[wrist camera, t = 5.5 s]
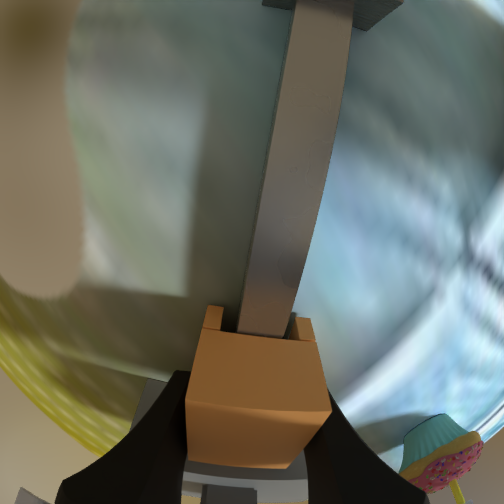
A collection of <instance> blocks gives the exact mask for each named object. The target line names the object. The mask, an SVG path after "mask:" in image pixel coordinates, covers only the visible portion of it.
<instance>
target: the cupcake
mask: <svg viewBox="0 0 504 504" xmlns="http://www.w3.org/2000/svg"><path fill="white" fill-rule="evenodd" d="M483 444H484V442H483V441H481V438H480V435H479V433H478V432H476V431H471V432H468V431H466V430H465V429H463V428H462V427H460V426H459V425H458V424H457V423H456V422H455V421H453V420H452V419H451V418H450V417H449V416H448V415H447V414H441V415H438V416H435V417H433V418H431V419H429V420H427V421H425V422H423V423H421V424H420V425H418V426H417V427H415V428H414V429H413V430H411V431H410V432H409V433H408V434H407V435H406V436H405V438H404V452H403V461H402V465H401V468H400V470H399V473H398V474H399V475H400V476H402V477H403V478H404V479H406V480H407V481H409V482H410V483H412V484H413V485H415V486H416V487H418V488H420V489H421V490H423V491H425V492H426V494H429V493H434V492H436V491H438V490H440V489H443V488H445V487H447V486H449V485H450V487H451V490H452V492H453V495H454V498H455V500H456V503H457V504H464V503H465V500H464V498H463V495H462V493H461V490H460V488H459V485H458V483H457V480H458V479H459V478H460V477H462V476H463V475H464V474H465V473H466V472H467V471H468V470H469V469H471V467H472V466H473V464H475V463H476V461H477V459H478V458H479V456H480V455H481V450H482V448H483V447H482V446H483ZM469 471H470V470H469Z"/></svg>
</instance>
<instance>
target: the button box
mask: <svg viewBox="0 0 504 504" xmlns="http://www.w3.org/2000/svg"><path fill="white" fill-rule="evenodd" d="M166 385H167V383H166V382H162V381H157V380H153V379H149V378H148V379H147V382H146V385H145V388H144V390H143V393H142V396H141V399H140V402H139V404H138V407H137V410H136V413H135V416H134V419H133V422H132V425H131V428H130V431H131V430H132V429H133V428H134V427H135V426H136V424H137V423H138V422H139V421H140V420H141V418H142V417H143V416H144V415H145V414H146V412H147V411H148V410H149V409H150V407H151V406H152V405H153V403H154V402H155V400H156V399H157V398H158V396H159V395H160V393H161V392H162V391H163V389H164V388H165V386H166ZM130 431H129V432H130ZM182 495H187V496H192V497H199V498H201V502H200V504H257V503H285V502H286V503H287V502H303V501H305V500H307V499H308V477H307V467H306V461H305V455H304V449H303V450H302V451H301V452H300V453H299V455H298V456H297V457H296V458H295V459H294V460H293V462H292V463H291V464H290V465H289V466H288V467H287V468H286V469H276V468H249V467H236V466H226V465H217V464H210V463H203V462H196V461H191V460H188V453H187V457H186V461H185V466H184V473H183V483H182Z"/></svg>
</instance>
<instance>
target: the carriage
mask: <svg viewBox="0 0 504 504" xmlns="http://www.w3.org/2000/svg"><path fill="white" fill-rule="evenodd" d="M223 308H224V307H219V306H213V305H208V307H207V311H206V315H205V318H204V322H203V327H202V330H201V334H200V338H199V343H198V347H197V351H196V355H195V359H194V363H193V367H192V372H191V376H190V380H189V384H188V389H187V393H186V398H185V410H186V432H187V448H188V460H191V461H196V462H203V463H210V464H217V465H226V466H236V467H249V468H276V469H286V468H287V467H288V466H289V465H290V464H291V463H292V462H293V460H294V459H295V458H296V457H297V456H298V455H299V453H300V452H301V451H302V450H303V449H304V447H305V446H306V445H307V444H308V443H309V441H310V440H311V439H312V438H313V436H314V435H315V434H316V432H317V431H318V430H319V429H320V427H321V426H322V425H323V423H324V422H325V421H326V419H327V418H328V416H329V415H330V414H331V412H332V408H331V403H330V399H329V394H328V390H327V385H326V381H325V377H324V372H323V368H322V364H321V360H320V356H319V352H318V348H317V343H316V342H315V341H316V339H315V335H314V332H313V328H312V324H311V320H310V318H302V317H295V320H294V323H293V326H292V329H291V332H290V335H289V338H288V340H285V339H276V338H267V337H259V336H251V335H243V334H236V333H229V332H222V331H221V323H222V316H223Z"/></svg>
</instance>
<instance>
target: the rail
mask: <svg viewBox="0 0 504 504" xmlns="http://www.w3.org/2000/svg"><path fill="white" fill-rule="evenodd" d="M401 4H403V0H262V5H264V6H271V7H277V8H283V9H289V10H292V15H291V20H290V26H289V31H288V37H287V42H286V48H285V53H284V59H283V64H282V70H281V75H280V81H279V86H278V92H277V97H276V103H275V108H274V114H273V119H272V125H271V131H270V136H269V142H268V147H267V153H266V159H265V164H264V170H263V175H262V181H261V187H260V192H259V198H258V204H257V209H256V215H255V221H254V226H253V232H252V238H251V243H250V249H249V255H248V260H247V266H246V272H245V278H244V283H243V289H242V295H241V301H240V306H239V312H238V318H237V324H236V329H235V333H236V334H243V335H251V336H259V337H267V338H276V339H283V337H284V333H285V330H286V327H287V324H288V321H289V317H290V314H291V311H292V307H293V304H294V301H295V297H296V294H297V290H298V287H299V283H300V280H301V276H302V273H303V269H304V266H305V262H306V258H307V255H308V251H309V247H310V243H311V239H312V235H313V232H314V228H315V224H316V220H317V215H318V211H319V207H320V203H321V199H322V194H323V190H324V186H325V181H326V177H327V172H328V168H329V163H330V158H331V153H332V148H333V143H334V138H335V133H336V128H337V123H338V117H339V112H340V106H341V100H342V94H343V88H344V82H345V75H346V69H347V62H348V54H349V47H350V39H351V30H352V26H353V27H356V28H359V29H362V30H364V31H368V30H369V29H370V28H371V27H373V26H374V25H375V24H376V23H378V22H379V21H380V20H381V19H383V18H384V17H385V16H387V15H388V14H389V13H391V12H392V11H393V10H395V9H396V8H397V7H399V6H400V5H401Z"/></svg>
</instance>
